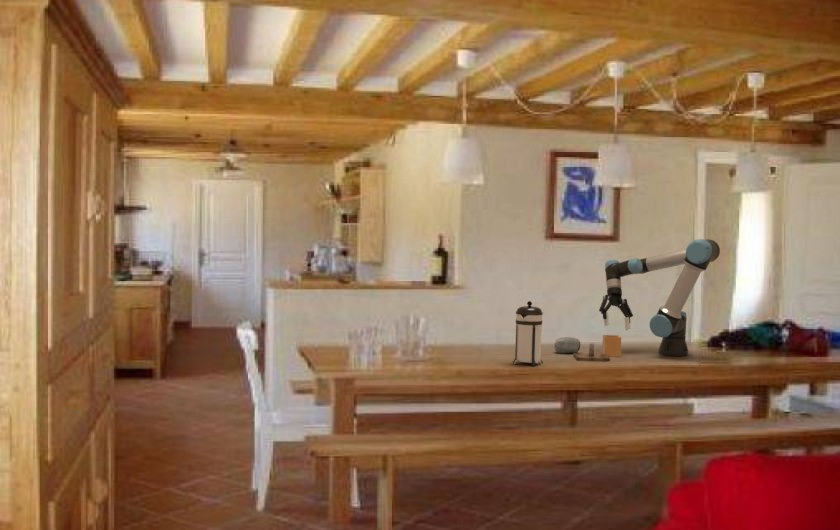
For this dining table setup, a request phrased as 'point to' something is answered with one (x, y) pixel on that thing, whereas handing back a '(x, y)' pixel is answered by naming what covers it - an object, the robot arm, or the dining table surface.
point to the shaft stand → (591, 355)
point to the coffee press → (528, 334)
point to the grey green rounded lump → (567, 345)
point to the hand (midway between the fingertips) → (617, 327)
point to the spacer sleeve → (611, 345)
